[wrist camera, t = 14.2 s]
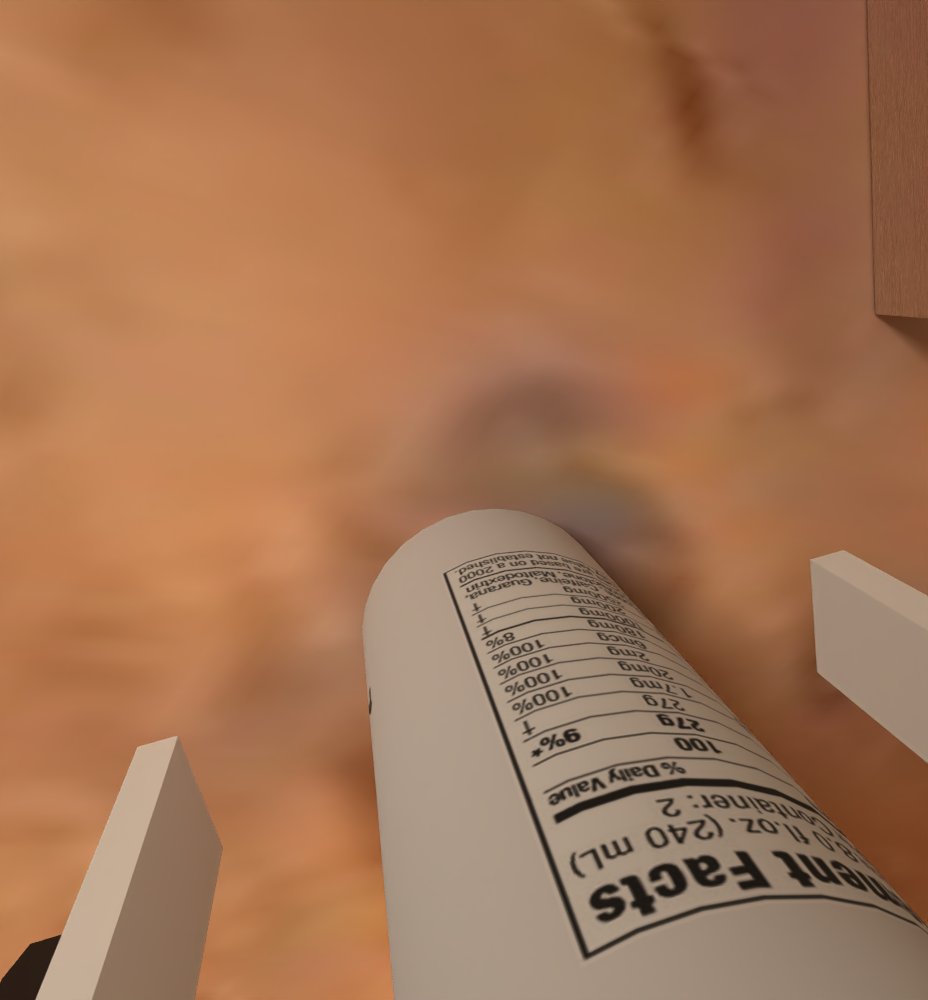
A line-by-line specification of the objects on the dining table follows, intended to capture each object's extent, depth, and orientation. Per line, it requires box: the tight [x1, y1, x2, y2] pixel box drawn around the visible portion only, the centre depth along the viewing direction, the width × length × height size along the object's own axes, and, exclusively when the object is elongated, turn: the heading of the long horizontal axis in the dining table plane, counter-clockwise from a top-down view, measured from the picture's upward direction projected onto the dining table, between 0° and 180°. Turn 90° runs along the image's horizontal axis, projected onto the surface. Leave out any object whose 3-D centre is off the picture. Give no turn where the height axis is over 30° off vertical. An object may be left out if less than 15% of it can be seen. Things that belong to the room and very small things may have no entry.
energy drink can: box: [362, 509, 928, 1000], centre depth 12 cm, size 6×6×15 cm
